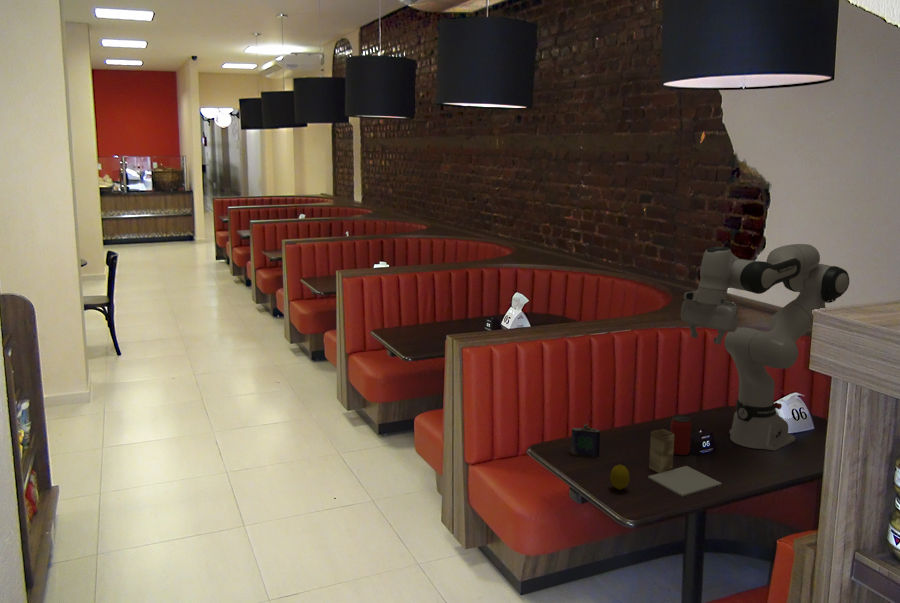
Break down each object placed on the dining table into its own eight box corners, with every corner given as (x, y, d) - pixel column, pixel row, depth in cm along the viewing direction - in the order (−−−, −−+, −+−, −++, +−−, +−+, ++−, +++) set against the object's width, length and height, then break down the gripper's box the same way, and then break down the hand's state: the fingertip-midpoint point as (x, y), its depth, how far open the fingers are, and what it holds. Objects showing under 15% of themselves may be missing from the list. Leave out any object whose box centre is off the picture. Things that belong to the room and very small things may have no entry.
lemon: (615, 495, 207) (616, 469, 205) (606, 487, 212) (607, 461, 210) (632, 492, 208) (633, 467, 206) (622, 484, 213) (624, 459, 212)
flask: (570, 455, 235) (571, 424, 233) (571, 451, 237) (572, 421, 235) (599, 458, 232) (600, 427, 230) (599, 454, 235) (600, 423, 233)
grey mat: (686, 467, 225) (686, 465, 225) (721, 485, 213) (721, 483, 212) (648, 478, 218) (648, 476, 217) (682, 496, 205) (682, 494, 205)
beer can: (690, 456, 233) (693, 422, 230) (670, 455, 234) (672, 420, 232) (688, 449, 239) (690, 415, 237) (668, 447, 240) (670, 413, 238)
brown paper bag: (660, 464, 227) (662, 428, 225) (672, 470, 223) (674, 433, 220) (648, 467, 225) (650, 430, 222) (660, 473, 220) (662, 436, 218)
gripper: (745, 303, 218) (738, 347, 219) (694, 293, 235) (688, 334, 237) (731, 303, 215) (724, 347, 216) (680, 292, 232) (674, 334, 234)
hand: (705, 340), depth 227 cm, fingers open, 8 cm apart
